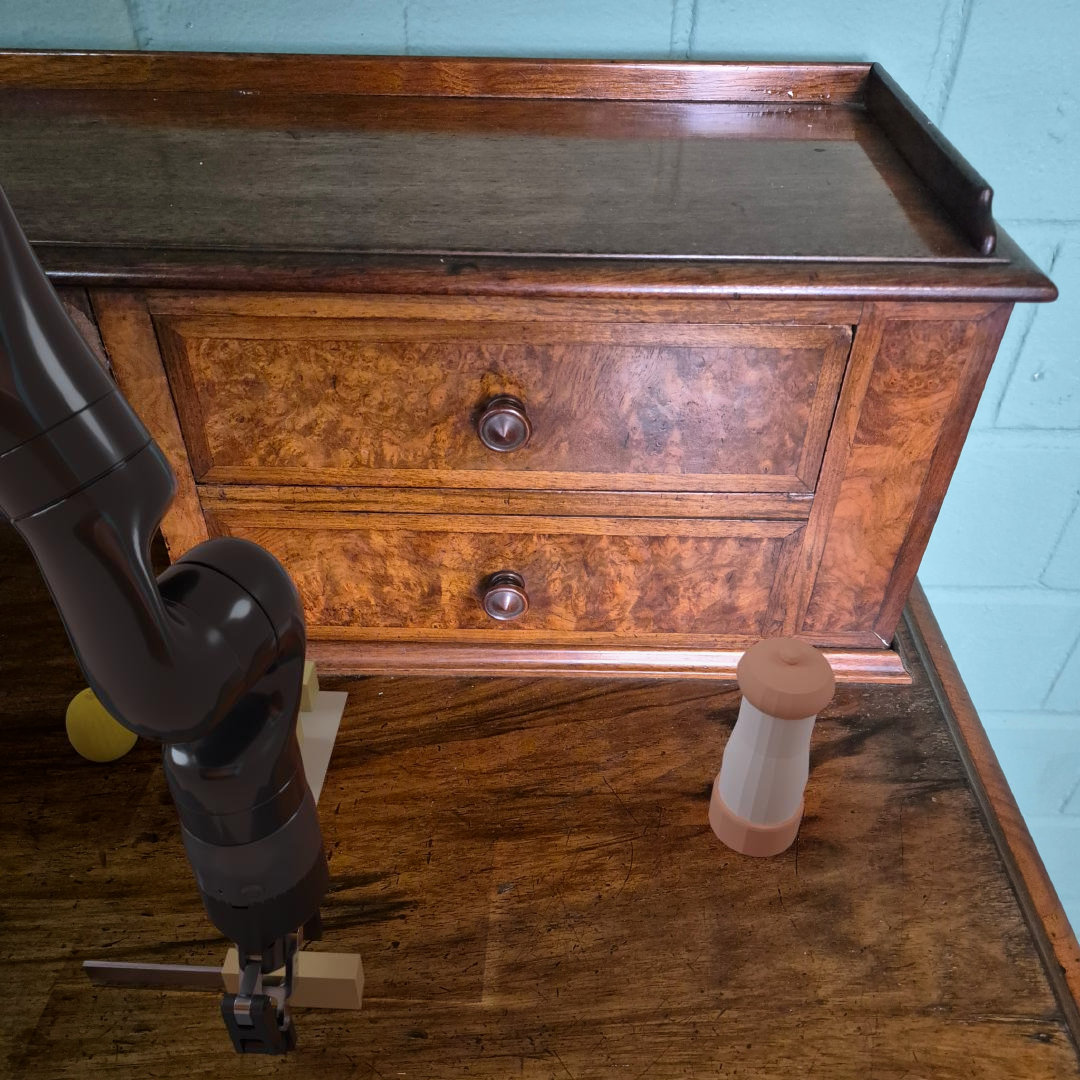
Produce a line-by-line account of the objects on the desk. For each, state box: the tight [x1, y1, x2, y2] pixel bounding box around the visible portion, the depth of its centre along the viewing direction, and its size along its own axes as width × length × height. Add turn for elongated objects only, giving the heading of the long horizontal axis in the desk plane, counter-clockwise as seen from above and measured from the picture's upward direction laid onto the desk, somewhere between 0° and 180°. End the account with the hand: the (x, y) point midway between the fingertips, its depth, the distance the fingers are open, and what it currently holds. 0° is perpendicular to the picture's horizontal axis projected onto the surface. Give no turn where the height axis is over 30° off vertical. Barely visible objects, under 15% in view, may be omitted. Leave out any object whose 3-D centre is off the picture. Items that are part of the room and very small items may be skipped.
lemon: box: [65, 687, 139, 763], centre depth 81 cm, size 6×6×8 cm
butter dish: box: [299, 690, 349, 808], centre depth 83 cm, size 10×13×1 cm
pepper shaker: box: [707, 636, 836, 858], centre depth 73 cm, size 7×7×19 cm
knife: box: [82, 947, 366, 1011], centre depth 65 cm, size 19×2×4 cm, turn 88°
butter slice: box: [299, 660, 320, 711], centre depth 87 cm, size 4×3×4 cm, turn 88°
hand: (295, 988), depth 66 cm, fingers open, 7 cm apart
